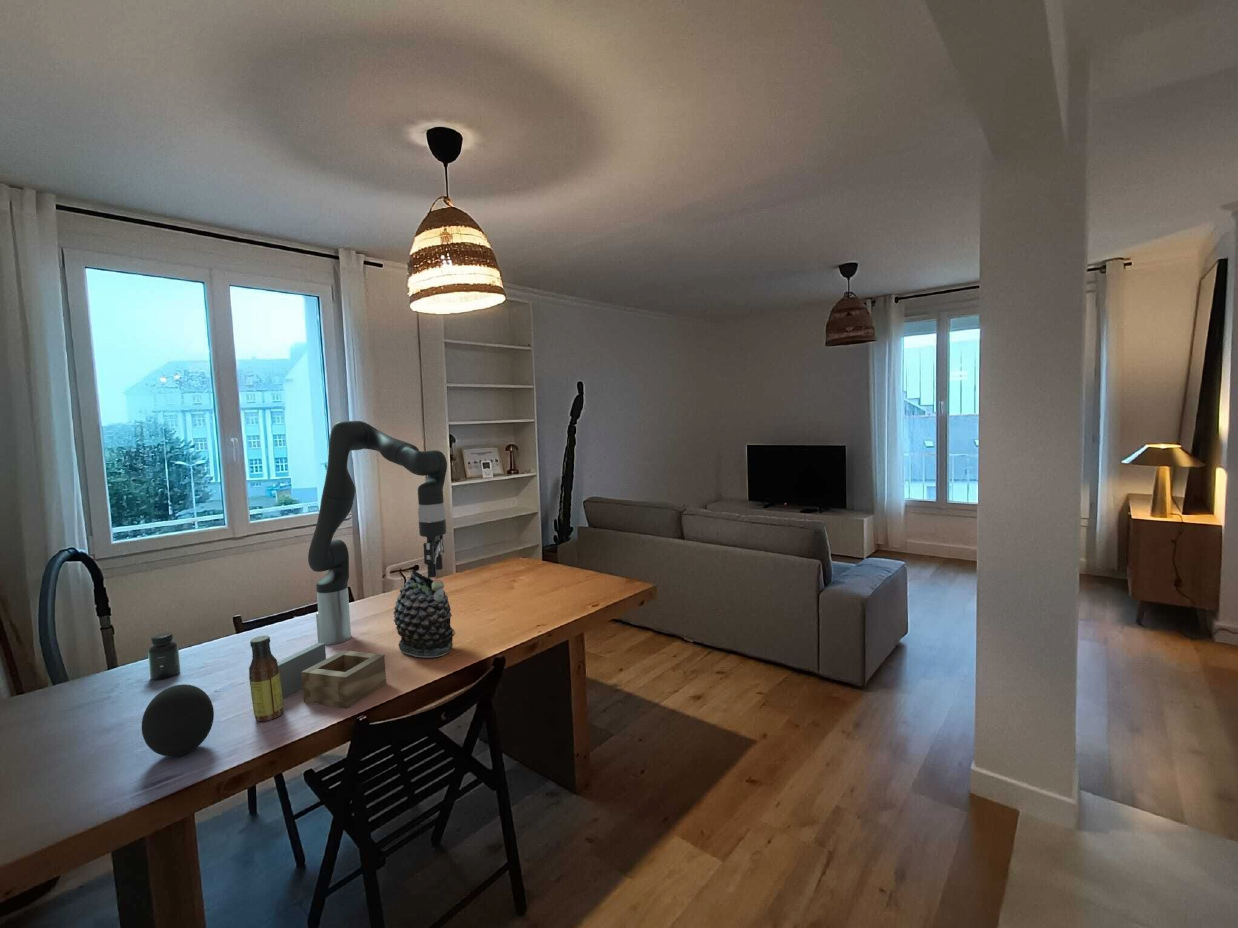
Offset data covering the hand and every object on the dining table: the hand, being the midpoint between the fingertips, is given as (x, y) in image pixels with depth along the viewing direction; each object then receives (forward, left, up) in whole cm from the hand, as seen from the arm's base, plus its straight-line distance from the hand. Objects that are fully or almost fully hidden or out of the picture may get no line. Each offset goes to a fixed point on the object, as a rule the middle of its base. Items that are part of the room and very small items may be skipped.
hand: (435, 573), depth 166 cm
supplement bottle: (-74, -27, -27) cm, 84 cm away
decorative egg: (-27, -55, -27) cm, 67 cm away
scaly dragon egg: (-9, +6, -27) cm, 29 cm away
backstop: (-28, -23, -27) cm, 45 cm away
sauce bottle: (-22, -38, -27) cm, 52 cm away
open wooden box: (-13, -23, -27) cm, 38 cm away
